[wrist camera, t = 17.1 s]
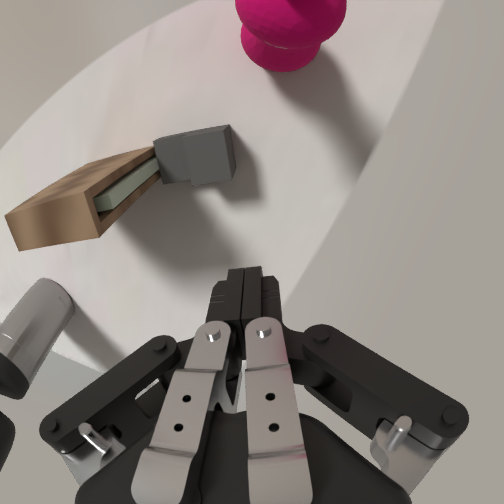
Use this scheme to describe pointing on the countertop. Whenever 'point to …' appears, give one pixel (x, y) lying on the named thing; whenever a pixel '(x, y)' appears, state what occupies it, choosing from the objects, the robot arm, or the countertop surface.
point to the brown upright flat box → (76, 203)
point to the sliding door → (125, 185)
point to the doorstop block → (196, 156)
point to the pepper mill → (287, 30)
